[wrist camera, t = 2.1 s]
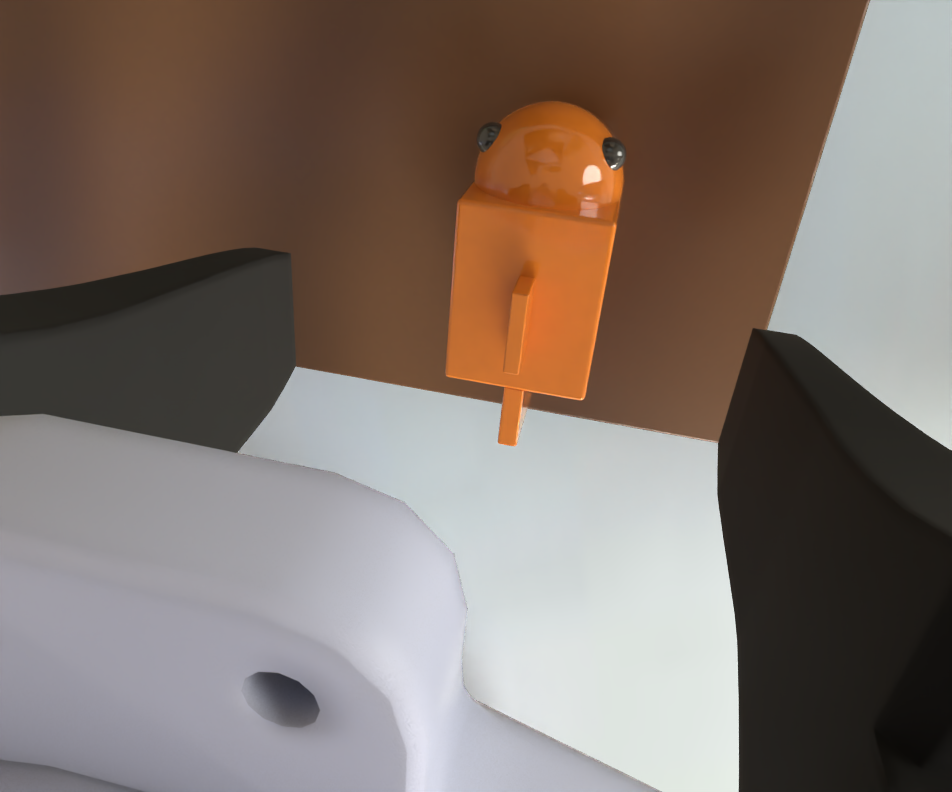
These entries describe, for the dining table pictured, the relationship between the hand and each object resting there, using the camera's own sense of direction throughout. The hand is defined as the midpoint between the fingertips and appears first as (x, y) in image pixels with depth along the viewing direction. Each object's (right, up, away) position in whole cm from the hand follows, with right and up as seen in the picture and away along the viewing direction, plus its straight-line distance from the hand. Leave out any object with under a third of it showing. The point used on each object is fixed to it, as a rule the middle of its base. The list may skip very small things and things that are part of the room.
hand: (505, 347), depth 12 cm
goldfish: (+1, +3, +5) cm, 6 cm away
